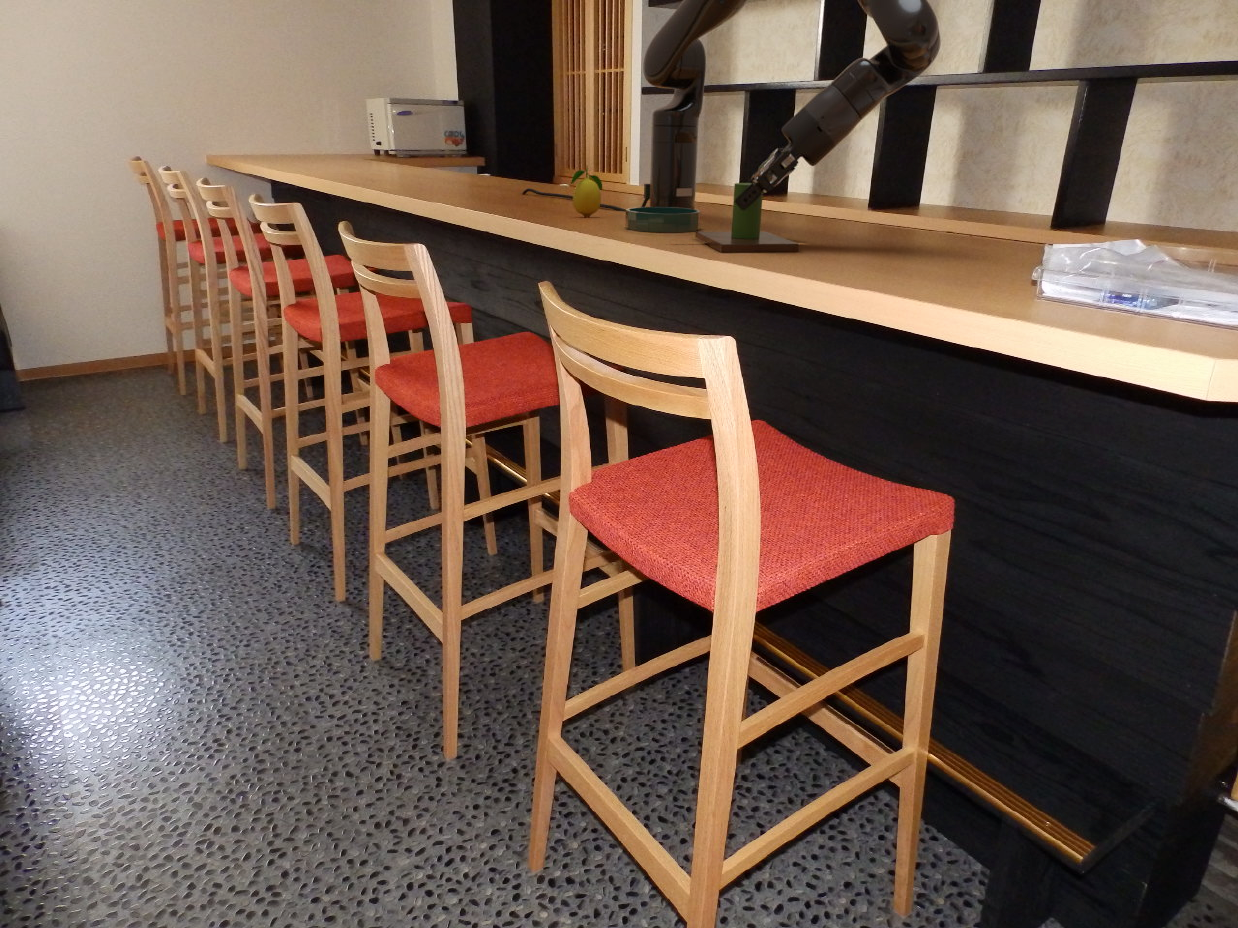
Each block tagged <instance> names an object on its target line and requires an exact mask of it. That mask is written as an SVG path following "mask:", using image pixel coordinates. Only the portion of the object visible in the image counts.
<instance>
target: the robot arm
mask: <svg viewBox="0 0 1238 928" xmlns="http://www.w3.org/2000/svg"><path fill="white" fill-rule="evenodd" d="M748 1H749V0H682V1H681V2H680V3H679V5H678V7H676V9H675V11H674V12H673V13H672V15H671V16H670V17H669V18H668V19H667V21H666V22H665V23H664V24H663V26H661V28H660V29H659V30H658V31H657V33H656V34H655V35H654V37H653V38H652V39H651V41H650V43H649V44H648V47H647V48H646V51H645V53H644V58H643V62H642V71H643V72H642V73H643V76H644V78H645V80H646V81H647V83H648V84H650V85H651V86H653V87H656V88H659V89H669V90H670V89H672V90H674V92H673V97H672V99H671V100H670V101H669V102H668V103H667V104H665V105H663V106H661V107H659V108H657V109H655V110H654V111H653V112H652V115H651V140H650V141H651V143H650V146H651V147H650V182H649V183H644V184H643V185H644V187H643V202H642V204H641V206H640V207H647V204H648V202H649V207H678V208H690V209H696V207H695V206H696V189H697V188H696V186H697V168H698V167H697V165H698V164H697V163H698V145H699V144H698V143H699V142H698V141H699V121H700V117H701V114H702V109H703V105H704V104H703V103H704V91H705V82H706V69H707V56H706V55H707V54H706V49H705V45H704V44H703V42H702V40H701V39H700V38H702V37H703V36H705V35H706V34H708V33H710V32H711V31H714V30H715V29H717V28H719V27H720V26H722V25H723V24H725V23H727V22H728V21H730V20H731V19H732V18H733V17H735V16H736V15H737V14H738V13H739V12H740V11H741V10H742V9H743V8H744V7H745V6H746V4H747V2H748ZM857 2H858V3H859V5H860V7H861V8H862V10H863V11H864V13H865V14H866V15H867V16H868V17H870V19H872V20H873V21H874V24H875V25H876V27H877V28H878V30H879V32H880V34H881V35H882V36H881V37H882V38H883V40H884V42H885V44H886V46H884V47H883V48H882V49H881V50H880V51H878V52H877V53H876V54H874V55H873V56H871V57H870V58H866V57H859V58H857V59H856V60H854V61H853V62H852V63H850V64H849V65H847V67H846V68H845V69H844V70H843V71H842V72H841V73H840V74H839V75H838V76H836V77H835V78H834V79H833V81H831V82H830V83H829V84H828V85H827V86H826V87H824V88H823V89H821V90H820V91H819V92H818V93H817V94H815V96H813V97H812V98H811V99H810V100H809V101H808V102H807V103H806V104H805V105H804V106H802V108H800V109H799V111H797V113H795V114H794V115H793V117H791V118H790V120H788V121H787V122H786V123H785V124H784V125H783V126H782V127H781V133H782V134H783V136H784V137H785V138H786V140H787V141H788V144H787V145H786V146H785V147H781V148H778V147H777V148H776V149H775V150H773V151H772V153H770V154H769V156H768V157H767V159H766V160H764V161H763V162H762V163H761V164H760V165H759V166H758V169H757V170H756V171H755V172H754V173H753V174H752V176H751V178H750V179H749V181H748V182H747V183H751V184H750V185H749V186H748V187H747V188H746V189H745V190H744V191H743V192H742V193H741V194H740V195H739V196H738V197H737V198H736V199H735V203H736V204H737V205H738V207H739V208H740V209H741V210H743V211H744V210H746V209H747V208H748V207H749V206H750V205H751V204H752V203H753V202H754V201H755V200H757V199H758V198H759V197H760V196H761V195H762V193H763V195H765V194H767V193H768V192H771V191H772V189H773V188H775V187H776V186H778V185H779V184H780V183H781V182H782V181H783V180H784V179H785V178H786V177H788V176H789V175H791V174H792V173H793V172H794V171H795V170H796V168H797V166H798V164H799V160H800V159H801V158H802V159H804V161H805V162H806V163H807V165H809V166H811V167H815V166H816V165H818V163H820V162H821V161H822V160H823V159H824V158H825V157H826V156H828V154H829V153H831V151H832V150H834V149H835V148H836V147H837V146H838V145H840V143H841V142H842V141H843V140H844V139H846V138H847V137H848V136H849V134H851V133H852V132H853V131H854V129H855V128H856V127H857V125H858V124H859V123H860V122H861V121H862V120H863V119H865V117H867V116H868V115H869V114H870V113H871V112H872V111H873V110H874V109H875V108H876V107H877V106H878V105H879V104H880V103H881V102H882V101H883V100H884V99H886V98H887V97H889V96H890V95H892V94H894V93H896V92H897V91H899V90H900V89H902V88H903V87H905V86H906V85H908V84H909V83H911V82H913V81H914V80H915V79H916V78H918V77H919V76H921V75H922V74H923V73H924V72H925V71H926V70H927V69H928V68H929V67H930V66H931V65H932V63H934V61H935V59H936V58H937V56H938V54H939V52H940V49H941V42H942V40H941V33H940V29H939V27H940V26H939V22H938V18H937V15H936V12H935V11H934V9H933V7H932V6H931V4H930V2H929V1H928V0H857ZM753 183H754V184H753ZM529 192H531V193H533V194H536V195H538V196H545V197H553V198H555V197H556V198H562V199H570V200H573V195H569V194H564V193H563V194H562V193H553V192H552V193H551V192H542V191H538V190H536V189H533V188H526V189H524V190H523V191H522V193H521V195H522V196H523V195H526V194H527V193H529ZM761 192H762V193H761ZM599 208H604V209H608V210H609V209H610V210H615V211H617V212H626V209H627V208H626V209H625V208H623V207H619V206H617V205H612V204H606V203H600V207H599Z"/></svg>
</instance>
